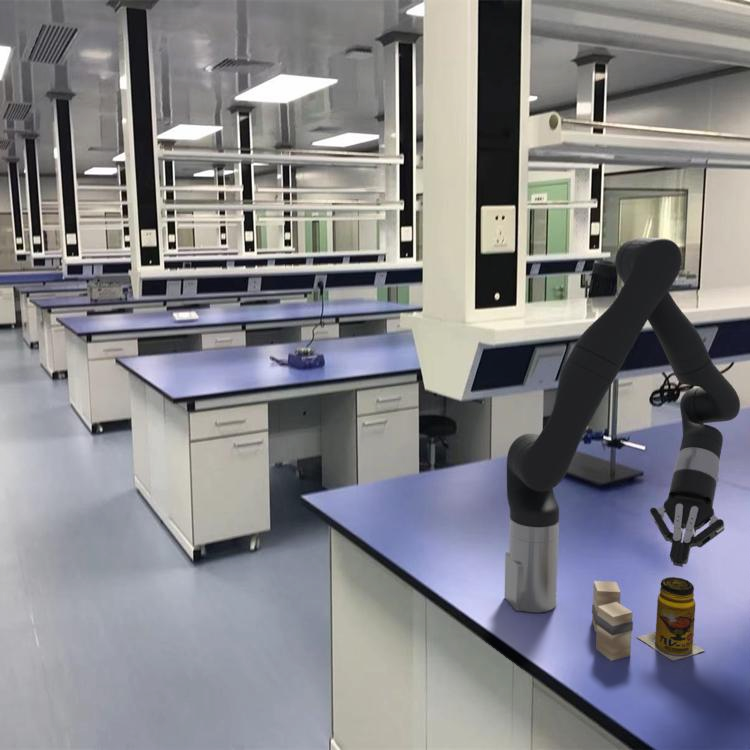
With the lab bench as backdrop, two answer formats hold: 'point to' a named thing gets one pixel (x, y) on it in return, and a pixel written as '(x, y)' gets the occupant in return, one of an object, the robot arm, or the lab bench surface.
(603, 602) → the banded post
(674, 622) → the condiment
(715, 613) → the lab bench surface
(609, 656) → the banded post
